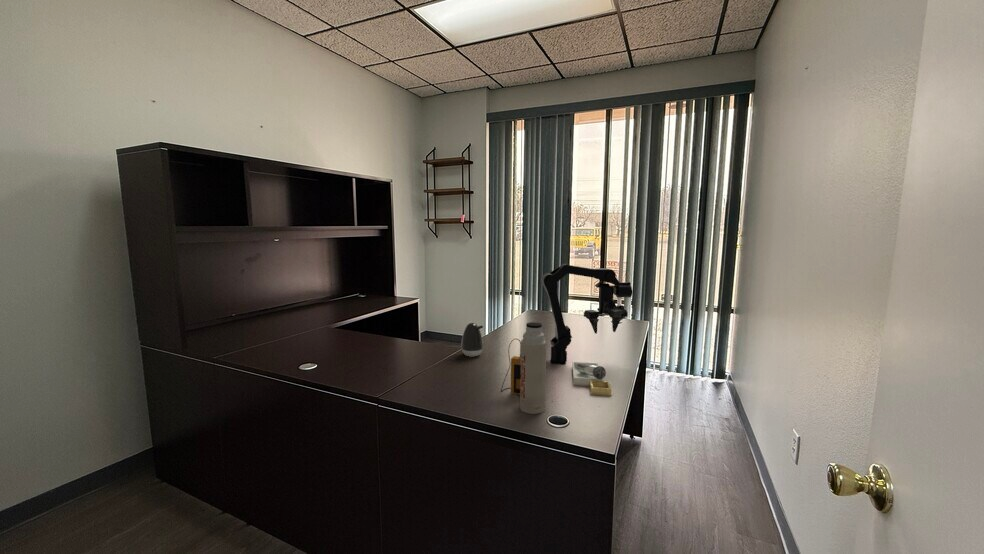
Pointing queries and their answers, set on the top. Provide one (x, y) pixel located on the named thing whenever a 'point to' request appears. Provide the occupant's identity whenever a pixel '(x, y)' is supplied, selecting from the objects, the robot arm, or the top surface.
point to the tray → (582, 375)
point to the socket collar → (600, 388)
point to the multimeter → (515, 373)
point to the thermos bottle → (533, 369)
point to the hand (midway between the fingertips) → (605, 332)
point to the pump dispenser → (472, 340)
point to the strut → (591, 370)
